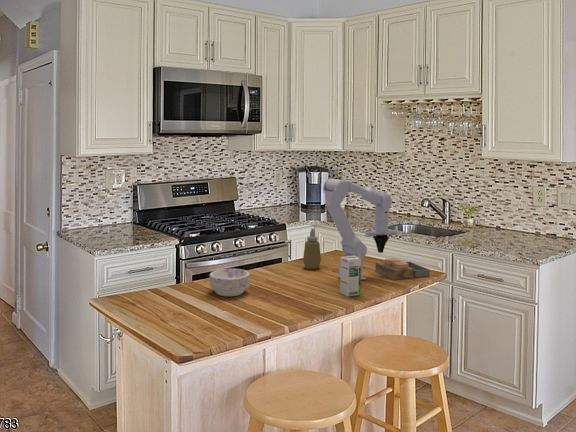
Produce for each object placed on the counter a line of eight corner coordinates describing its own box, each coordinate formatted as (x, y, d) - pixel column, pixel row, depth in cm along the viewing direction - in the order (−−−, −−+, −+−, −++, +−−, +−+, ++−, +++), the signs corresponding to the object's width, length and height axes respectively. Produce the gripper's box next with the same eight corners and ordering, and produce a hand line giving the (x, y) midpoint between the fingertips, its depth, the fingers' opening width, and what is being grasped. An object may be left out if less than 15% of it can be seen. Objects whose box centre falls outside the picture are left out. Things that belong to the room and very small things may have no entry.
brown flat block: (393, 280, 240) (393, 270, 239) (375, 271, 254) (375, 262, 253) (413, 277, 244) (414, 268, 243) (394, 269, 257) (395, 260, 257)
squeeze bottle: (324, 267, 259) (324, 228, 256) (315, 271, 252) (315, 231, 250) (308, 265, 263) (309, 226, 261) (299, 268, 257) (300, 229, 254)
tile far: (390, 265, 248) (391, 261, 248) (384, 262, 253) (385, 258, 252) (400, 264, 250) (401, 260, 250) (394, 262, 254) (394, 258, 254)
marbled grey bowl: (204, 297, 213) (204, 277, 211) (216, 286, 227) (216, 267, 226) (244, 300, 210) (244, 279, 209) (253, 288, 225) (253, 269, 224)
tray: (414, 277, 244) (414, 271, 243) (395, 269, 258) (395, 262, 257) (429, 276, 246) (429, 269, 246) (409, 268, 260) (410, 261, 260)
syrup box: (347, 297, 216) (348, 259, 213) (339, 292, 221) (340, 256, 219) (360, 295, 218) (361, 258, 216) (352, 291, 223) (353, 254, 221)
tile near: (398, 268, 243) (398, 264, 242) (392, 266, 247) (392, 262, 247) (408, 267, 244) (408, 263, 244) (402, 265, 249) (402, 261, 249)
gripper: (371, 223, 240) (370, 255, 242) (401, 221, 245) (399, 252, 247) (363, 220, 246) (362, 251, 248) (392, 219, 251) (391, 249, 253)
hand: (380, 252), depth 248 cm, fingers closed
